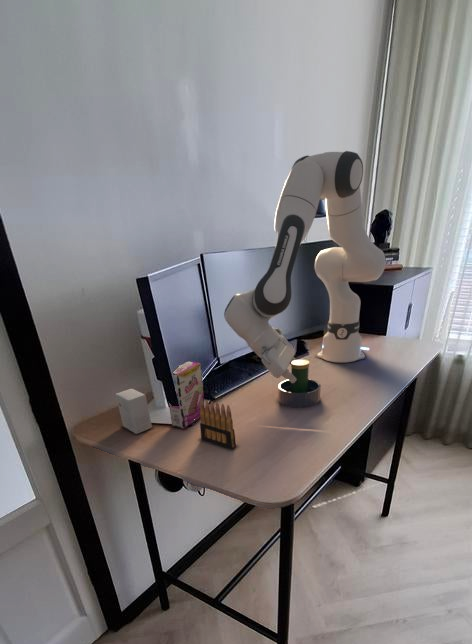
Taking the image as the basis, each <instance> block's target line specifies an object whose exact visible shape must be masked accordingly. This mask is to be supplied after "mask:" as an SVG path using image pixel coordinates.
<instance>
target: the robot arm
mask: <svg viewBox="0 0 472 644" xmlns="http://www.w3.org/2000/svg"><path fill="white" fill-rule="evenodd" d="M363 177H364V164H363V160H362V158H361V157H360V155H359V154H358V153H357V152H355V151H349V150H345V151H325V152H323V153H322V152H321V153H317V154H313V155H303V156H301V157H300V158H298V159H296V160H295V161H294V163H293V164H292V167H291V169H290V172H289V174H288V175H287V179H286V180H285V182H284V186H283V188H282V191H281V193H280V196H279V199H278V203H277V205H276V206H277V207H276V211H275V216H274V224H273V228H274V232H275V233H276V243H275V247H274V250H273V254H272V257H271V259H270V263H269V267H268V268H267V271H266V273H265V274H264V275H263V276H262V277H261V278H260V279H259V281H258V282H257V284H256V286H255V288H252V289H251V290H248V291H245V292H242V293H235V294H234V295H233V296H232V297H231V299H230V300H229V302H228V304H227V305H226V307H225V309H224V313H223V316H224V320H225V322H226V324H228V326H229V327H230V328H231V329H232V331H233V332H234V333H235V334H236V335H237V336H238V337H239V338H241V339H243V340H244V341H245V343H246V344H247V346H248V347H249V348H250V349H251V350H252V352H254V353H255V355H256V356H258V357H259V358H260V359H261V364H263V366H264V367H265V368H266V369H267V371H268V372H269V373H270V374H271V375H272V376H273V377H274V378H276V379H280V378H281V377H283V378H284V379H285V380H289V381H290V382H291V383H294V382H295V381H296V380H297V377H296V376H295V375H294V374H291V371H290V370H289V369H288V367H289V366H290V365H291V362H292V361H294V360H297V359H296V358H295V357H294V356H295V355H296V350H295V348H294V347H293V346H292V344H291V343H290V342H289V340H287V338H286V337H285V336H284V335H283V332H282V331H281V330H280V329H279V328H274V327H273V326H272V325H271V323H269V321H270V320H271V319H273V318H275V317H277V316H278V315H279V314H281V313H283V312H284V311H285V310H286V309H288V307H289V305H290V303H291V301H292V274H293V273H292V272H293V270H294V267H295V263H296V259H297V257H298V253H299V250H300V247H301V245H302V243H303V242H304V240H305V239H306V237H307V235H308V234H309V232H310V229H311V227H312V225H313V223H314V220H315V218H316V215H317V212H318V207H319V204H320V201H324V200H325V211H326V220H327V228H328V229H327V230H328V235H329V237H330V239H331V240H332V241H333V242H334V243H335V244H337V245H338V246H334V247H329V248H325V249H322V250H320V251H319V253H318V254H317V256H316V257H315V260H314V271H315V274H316V276H317V278H318V279H320V280H321V282H322V283H323V284H324V286H325V288H326V290H327V293H328V297H329V319H328V321H327V332H326V333H325V334H324V336H323V338H322V345H321V346H322V348H321V351H319V352H318V353H317V355H316V357H317V358H319V359H322V360H325V361H327V362H331V363H351V362H356V361H358V360H363V359H366V355H365V353H364V352H363V350H365V351H369V350H370V348H369V347H364V346H362V341H363V337H362V335H361V334H360V332H359V331H360V327H361V326H360V311H361V298H360V296H359V295H358V294H357V293H355V292H354V291H353V290H352V289H351V288H350V285H349V283H367V282H373V281H377V280H378V279H379V278H380V277H381V276H382V274H383V273H384V271H385V269H386V264H387V263H386V260H387V259H386V256H385V253H384V251H383V250H382V249H381V248H379V247H378V246H377V245H376V244H375V243H374V242H373V241H372V240H371V238H370V237H369V235H368V233H367V231H366V229H365V224H364V218H363V205H362V204H363V203H362V194H361V185H362V181H363Z"/></svg>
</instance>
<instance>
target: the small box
mask: <svg viewBox="0 0 472 644" xmlns="http://www.w3.org/2000/svg"><path fill="white" fill-rule="evenodd" d="M114 395H115V399H116V404H117V407H118V411H119V416H120V419H121V423H122V427H123V428H125V429H127V430H128V431H130V432H132V433H133V434H135V435H138V434H141V433H143V432H145V431H148V430H150V429H152V428H153V424H152V420H151V415H150V410H149V405H148V400H147V395H146V394H145V393H142V392H141V391H138V390H136V389H134V388H129V389H126V390H123V391H120V392H116V393H115V394H114Z"/></svg>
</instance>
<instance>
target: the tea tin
mask: <svg viewBox="0 0 472 644" xmlns="http://www.w3.org/2000/svg"><path fill="white" fill-rule="evenodd" d="M290 368H291V369H290V370H291V371H290V373H291V374H294V375H295V376H296V377H297V380H296V381H295V382H294V383H291V392H292V393H306V392H308V379H309V370H310V369H309V368H310V361H309V360H308V359H296V360H294V361H292V362H291V364H290Z"/></svg>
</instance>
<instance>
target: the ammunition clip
mask: <svg viewBox="0 0 472 644" xmlns="http://www.w3.org/2000/svg"><path fill="white" fill-rule="evenodd" d="M209 403H210V404H209ZM204 404H205V406H204ZM199 429H200V438H201V441H203V442H207V443H210V444H213V445H216V446H219V447H222V448H226V449H228V450H233V449H235V448H236V447H237V444H236V434H235V429H234V424H233V417H232V410H231V406H230V405H229V404H227V406H226V407H225V405H224V403H221V406H220V404H219V402H216V403H214V402H213V400H211V401H210V402H209V400H208V399H205V401H204V402H203V400H202V398H201V400H200V423H199Z"/></svg>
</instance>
